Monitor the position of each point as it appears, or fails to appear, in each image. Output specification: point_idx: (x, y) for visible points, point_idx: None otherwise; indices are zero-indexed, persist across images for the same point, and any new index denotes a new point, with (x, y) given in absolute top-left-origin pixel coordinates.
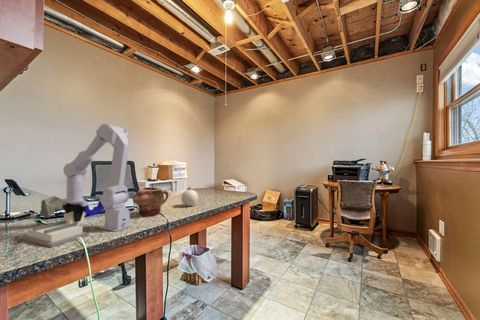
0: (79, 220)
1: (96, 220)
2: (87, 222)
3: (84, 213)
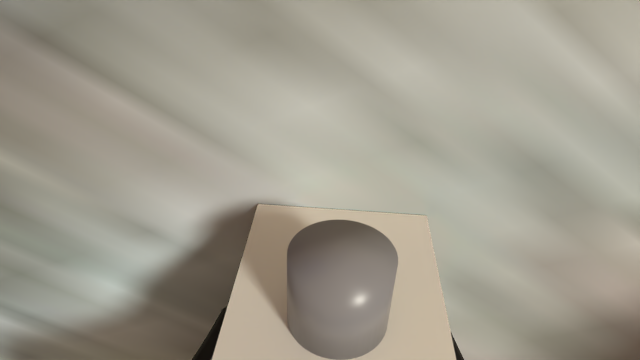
0: None
1: (564, 26)
2: (484, 194)
3: (381, 308)
